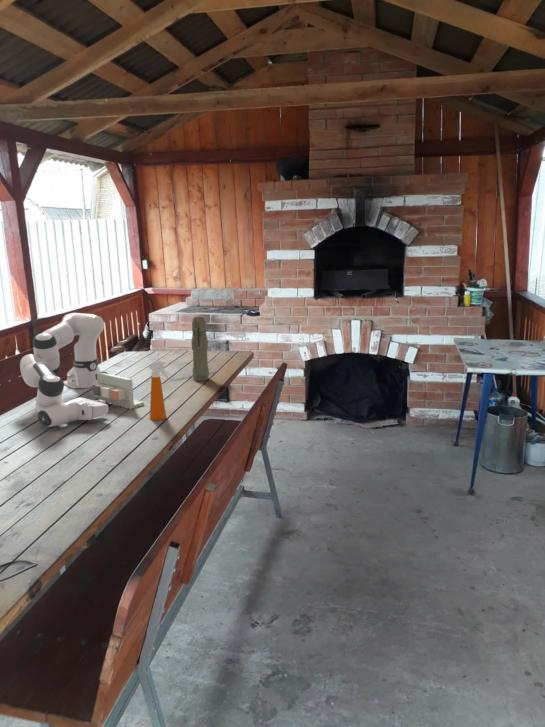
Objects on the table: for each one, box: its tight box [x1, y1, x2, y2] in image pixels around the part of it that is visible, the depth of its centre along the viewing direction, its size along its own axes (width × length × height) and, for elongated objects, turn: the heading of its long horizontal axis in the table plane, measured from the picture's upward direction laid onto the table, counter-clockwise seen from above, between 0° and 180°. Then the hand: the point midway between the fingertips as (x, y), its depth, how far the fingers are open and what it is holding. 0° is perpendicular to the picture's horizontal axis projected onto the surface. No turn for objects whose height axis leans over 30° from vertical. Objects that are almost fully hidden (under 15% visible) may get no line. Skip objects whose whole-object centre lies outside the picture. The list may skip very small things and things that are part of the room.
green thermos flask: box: [190, 316, 210, 382], centre depth 305 cm, size 9×12×35 cm
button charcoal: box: [91, 383, 107, 396], centre depth 265 cm, size 5×9×5 cm, turn 143°
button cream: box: [101, 385, 116, 398], centre depth 261 cm, size 5×9×5 cm, turn 143°
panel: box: [97, 371, 145, 410], centre depth 265 cm, size 24×8×14 cm, turn 53°
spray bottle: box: [148, 360, 170, 421], centre depth 239 cm, size 7×11×26 cm, turn 58°
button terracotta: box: [111, 388, 126, 401], centre depth 257 cm, size 5×9×5 cm, turn 143°
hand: (103, 401), depth 248 cm, fingers closed
